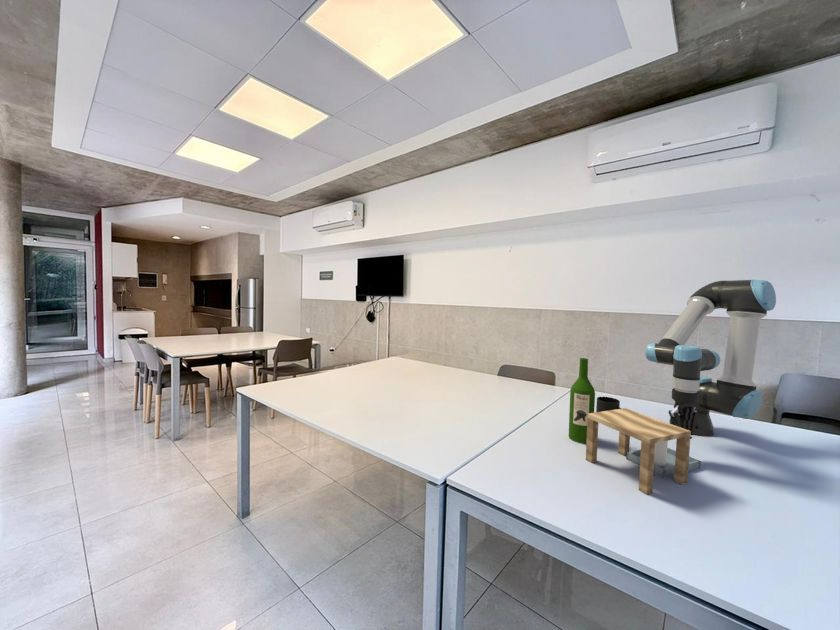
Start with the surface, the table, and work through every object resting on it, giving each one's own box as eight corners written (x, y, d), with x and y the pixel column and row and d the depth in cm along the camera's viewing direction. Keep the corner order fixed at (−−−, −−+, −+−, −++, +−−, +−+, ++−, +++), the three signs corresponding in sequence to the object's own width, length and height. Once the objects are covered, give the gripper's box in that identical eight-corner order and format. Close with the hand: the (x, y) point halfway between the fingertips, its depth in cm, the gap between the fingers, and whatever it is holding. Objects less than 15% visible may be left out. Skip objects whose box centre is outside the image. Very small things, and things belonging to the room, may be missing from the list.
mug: (616, 425, 151) (617, 405, 151) (591, 416, 162) (592, 398, 161) (628, 422, 156) (629, 402, 155) (603, 413, 166) (604, 395, 166)
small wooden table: (622, 451, 126) (625, 408, 125) (687, 483, 106) (690, 431, 105) (585, 459, 120) (587, 413, 119) (646, 494, 99) (649, 439, 98)
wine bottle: (568, 441, 135) (572, 359, 133) (568, 432, 143) (571, 355, 141) (594, 445, 131) (597, 361, 129) (591, 436, 140) (595, 357, 138)
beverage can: (659, 469, 112) (661, 433, 111) (640, 461, 118) (642, 427, 117) (669, 465, 115) (672, 430, 114) (650, 457, 121) (652, 424, 120)
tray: (661, 451, 127) (661, 444, 127) (700, 468, 115) (700, 461, 115) (626, 459, 121) (626, 452, 120) (663, 478, 108) (664, 470, 108)
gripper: (685, 385, 125) (682, 447, 127) (661, 388, 121) (658, 453, 122) (709, 391, 118) (705, 457, 120) (684, 394, 114) (680, 463, 115)
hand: (681, 455), depth 121 cm, fingers closed
